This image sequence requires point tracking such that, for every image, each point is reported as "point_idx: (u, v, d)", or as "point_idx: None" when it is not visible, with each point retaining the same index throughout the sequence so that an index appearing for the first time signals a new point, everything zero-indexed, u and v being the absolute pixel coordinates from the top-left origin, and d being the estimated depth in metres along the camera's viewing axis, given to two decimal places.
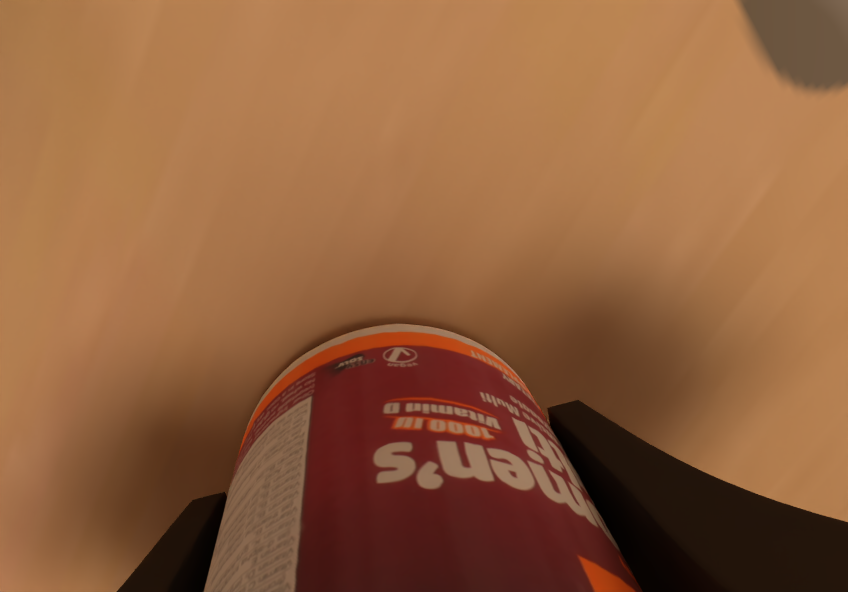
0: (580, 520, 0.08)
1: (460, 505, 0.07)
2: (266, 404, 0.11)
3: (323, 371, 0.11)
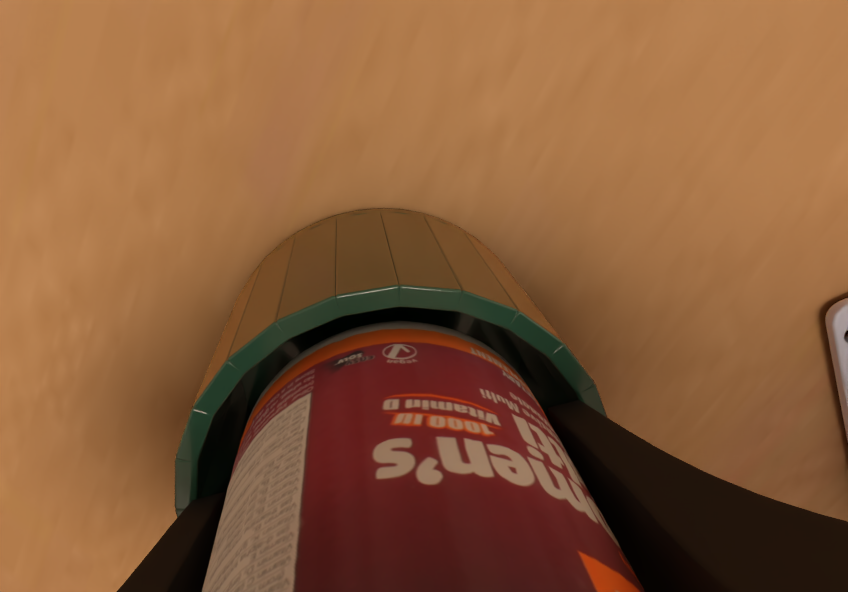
0: (581, 515, 0.08)
1: (459, 501, 0.07)
2: (265, 401, 0.11)
3: (322, 368, 0.11)
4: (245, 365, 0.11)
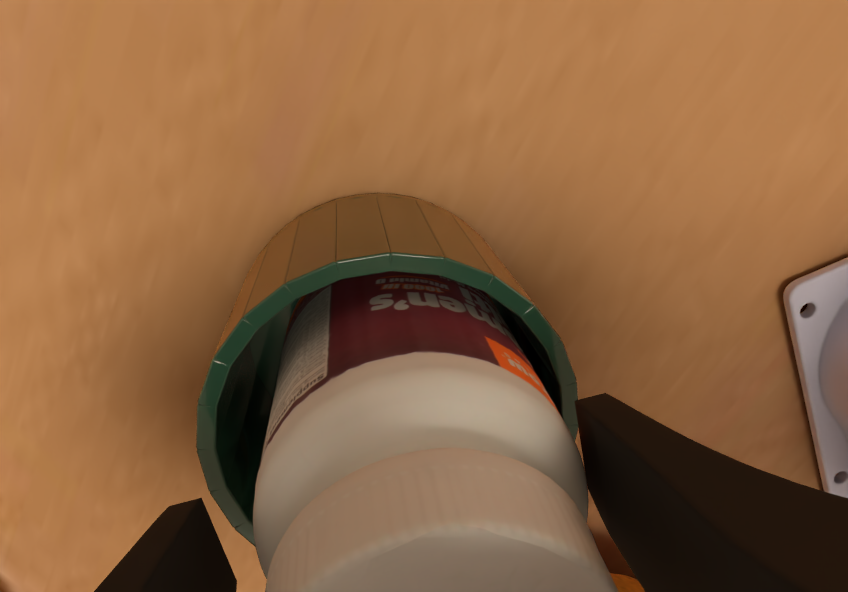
0: (492, 328, 0.14)
1: (417, 315, 0.13)
2: (301, 300, 0.17)
3: None
4: (258, 321, 0.13)
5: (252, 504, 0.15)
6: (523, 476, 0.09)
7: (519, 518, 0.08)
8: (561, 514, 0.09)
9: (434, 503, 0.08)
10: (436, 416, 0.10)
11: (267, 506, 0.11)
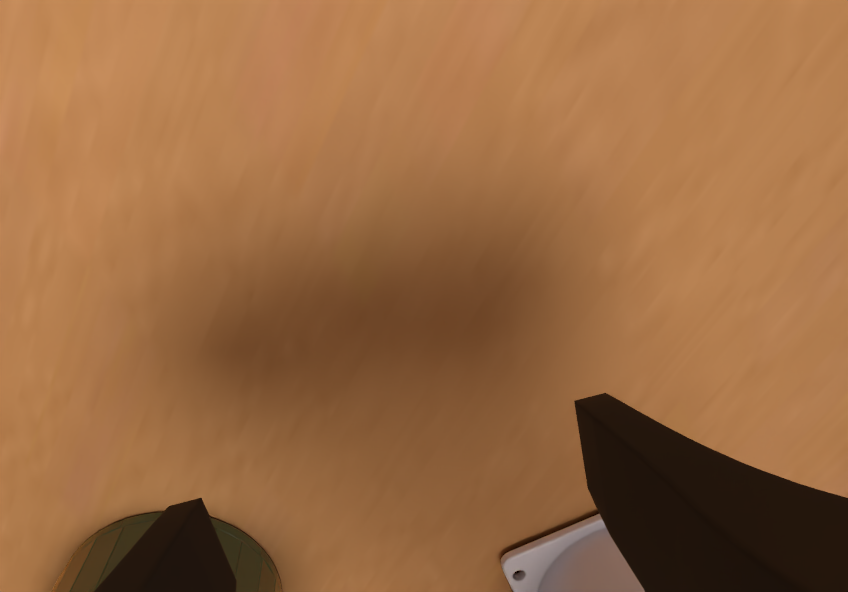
0: None
1: None
2: None
3: None
4: None
5: None
6: None
7: None
8: None
9: None
10: None
11: None
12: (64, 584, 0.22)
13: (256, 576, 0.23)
